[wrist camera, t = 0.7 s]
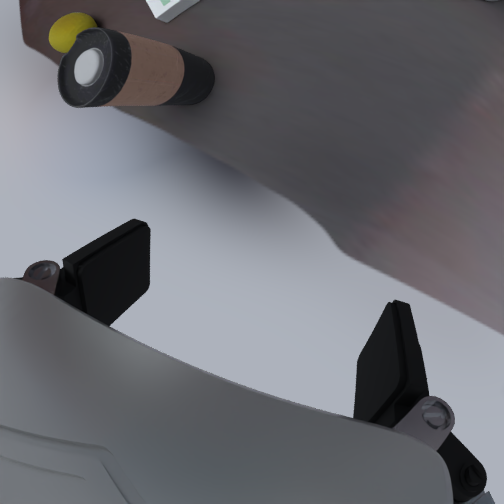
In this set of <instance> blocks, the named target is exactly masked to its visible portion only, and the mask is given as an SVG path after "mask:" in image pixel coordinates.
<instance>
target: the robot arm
mask: <svg viewBox="0 0 504 504" xmlns="http://www.w3.org/2000/svg"><path fill="white" fill-rule="evenodd" d="M486 1H499V0H486ZM62 260H63V268H62V269H60V266H59V265H58V264H57V263H56V262H54V261H48V260H45V261H39V262H36V263H34V264H32V265H30V266H29V267H28V268H27V270H26V271H25V273H24V276H23V277H22V278H0V504H495V502H494V500H493V498H492V496H491V494H490V492H489V491H488V492H486V493H485V492H484V488H485V486H486V481H487V476H486V471H485V469H484V467H483V465H482V464H481V463H480V462H479V461H478V460H477V459H476V458H475V456H474V455H473V454H472V453H471V452H470V451H469V450H468V449H467V448H466V447H465V446H464V445H463V444H462V443H461V442H460V441H459V440H458V439H457V438H456V437H455V436H454V435H453V433H452V432H451V430H452V429H453V426H454V424H455V417H454V413H453V411H452V409H451V407H450V406H449V405H448V404H447V403H446V402H445V401H443V400H442V399H440V398H438V397H435V396H429V390H428V384H427V378H426V373H425V367H424V361H423V356H422V351H421V347H420V345H419V342H418V338H417V333H416V328H415V324H414V320H413V316H412V312H411V308H410V305H409V304H408V303H405V302H401V301H398V300H394V301H393V302H392V303H391V302H388V304H387V305H386V307H385V309H384V311H383V313H382V315H381V317H380V319H379V321H378V323H377V324H376V326H375V328H374V330H373V332H372V334H371V336H370V337H369V339H368V341H367V343H366V345H365V346H364V348H363V350H362V352H361V353H360V355H359V358H358V361H357V375H356V392H355V404H354V416H353V418H350V417H346V416H343V415H339V414H334V413H330V412H327V411H323V410H320V409H316V408H312V407H309V406H306V405H302V404H299V403H295V402H292V401H289V400H285V399H282V398H279V397H275V396H273V395H270V394H266V393H264V392H260V391H257V390H255V389H252V388H249V387H246V386H243V385H240V384H238V383H235V382H232V381H230V380H227V379H225V378H222V377H219V376H217V375H214V374H212V373H209V372H207V371H204V370H202V369H199V368H197V367H194V366H192V365H190V364H187V363H185V362H182V361H180V360H178V359H176V358H173V357H171V356H169V355H167V354H165V353H162V352H160V351H158V350H156V349H154V348H152V347H149V346H147V345H145V344H143V343H141V342H139V341H137V340H135V339H133V338H131V337H129V336H127V335H125V334H123V333H121V332H119V331H117V330H115V329H113V328H111V327H109V326H110V325H111V324H112V323H113V322H114V321H115V320H116V319H117V318H118V317H119V316H120V315H122V314H123V313H124V312H125V311H126V310H127V309H128V308H129V307H130V306H131V305H132V304H133V303H134V302H136V301H137V300H138V299H139V298H140V297H141V296H142V295H143V294H144V293H145V292H146V291H147V290H148V288H149V285H150V228H149V227H148V225H147V223H146V222H143V221H140V220H137V219H132V220H130V221H128V222H126V223H124V224H122V225H121V226H119V227H117V228H115V229H113V230H112V231H110V232H108V233H106V234H104V235H103V236H101V237H99V238H97V239H96V240H94V241H92V242H90V243H89V244H87V245H85V246H84V247H82V248H80V249H79V250H77V251H75V252H73V253H72V254H70V255H69V256H67V257H65V258H64V259H62Z"/></svg>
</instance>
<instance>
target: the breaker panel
mask: <svg viewBox="0 0 504 504" xmlns="http://www.w3.org/2000/svg"><path fill="white" fill-rule="evenodd" d="M146 1H147V3H148V5H149V7H150V9H151V10H152V12H153V14H154V16H155V18H156V19H159V20H161V21H164V22H166V23H168V22H169V21H171V20H172V19H173V18H175V17H176V16H178V15H179V14H180V13H182V12H183V11H185V10H186V9H188V8H189V7H191V6H192V5H194V4H195V3H197V2H198V1H200V0H146Z"/></svg>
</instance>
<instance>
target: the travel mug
mask: <svg viewBox="0 0 504 504" xmlns="http://www.w3.org/2000/svg"><path fill="white" fill-rule="evenodd" d="M213 84H214V72H213V69H212V67H211V66H210V64H209V63H208V62H207V61H205V60H204V59H202V58H200V57H198V56H195V55H193V54H191V53H188V52H186V51H183V50H181V49H178V48H176V47H173V46H171V45H168V44H165V43H161V42H158V41H154V40H151V39H147V38H143V37H140V36H136V35H132V34H127V33H123V32H119V31H114V30H110V29H105V28H98V27H93V28H88V29H86V30H83V31H82V32H80V33H78V34H77V35H76V41H75V42H74V44H73V46H72V47H71V48H70V50H69V51H68V52H67V53H66V54H65V55H64V56H63V57H62V58H61V61H60V64H59V69H58V88H59V92H60V94H61V97H62V98H63V100H64V101H65V102H66V103H67V104H68V105H70V106H72V107H76V108H83V107H99V106H100V107H101V106H160V105H190V104H195V103H198V102H200V101H202V100H203V99H204V98H206V97H207V95H208V94H209V93H210V91H211V89H212V87H213Z"/></svg>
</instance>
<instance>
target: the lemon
mask: <svg viewBox="0 0 504 504" xmlns="http://www.w3.org/2000/svg"><path fill="white" fill-rule="evenodd" d="M93 27H97V24H96V22H95V21H94V19H93V18H92V17H91V16H89V15H87V14H84V13H81V12H76V13H71V14H68V15H66V16H63V17H61V18H60V19H59V20H57V21H56V22H55V23H54V25H53V26H52V28H51V30H50V33H49V42H50V44H51V45H52V47H53V48H54V49H56V50H58V51H60V52H62V53H67V52H68V51H69V50H70V48H71V47H72V46H73V44H74V42H75V41H76V35H77V34H78V33H80V32H82V31H83V30H86V29H88V28H93Z"/></svg>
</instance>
